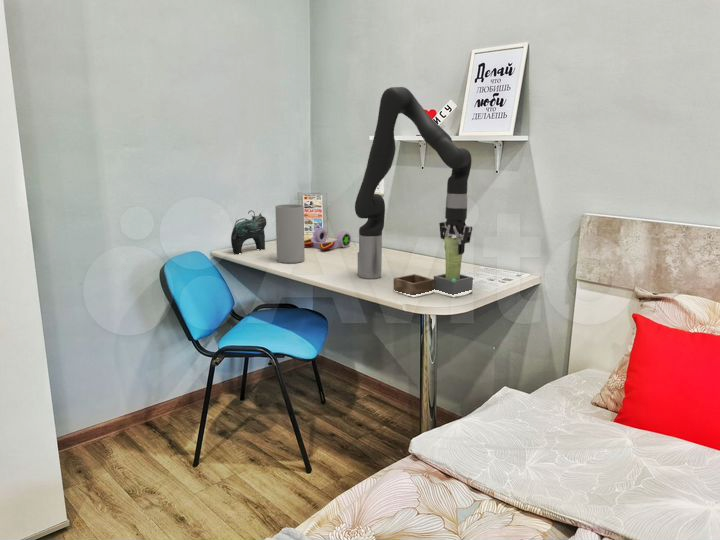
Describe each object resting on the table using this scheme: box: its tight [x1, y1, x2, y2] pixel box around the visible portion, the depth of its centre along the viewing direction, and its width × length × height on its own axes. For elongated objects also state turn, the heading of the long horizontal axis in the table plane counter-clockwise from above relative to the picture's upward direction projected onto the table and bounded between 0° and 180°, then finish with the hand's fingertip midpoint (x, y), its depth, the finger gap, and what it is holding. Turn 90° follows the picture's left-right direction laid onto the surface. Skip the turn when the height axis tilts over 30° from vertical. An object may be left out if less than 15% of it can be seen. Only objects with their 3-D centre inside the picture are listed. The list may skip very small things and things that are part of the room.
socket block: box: [433, 273, 474, 295], centre depth 205 cm, size 10×10×7 cm
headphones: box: [304, 227, 352, 251], centre depth 287 cm, size 20×10×20 cm
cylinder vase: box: [275, 203, 306, 264], centre depth 253 cm, size 12×12×25 cm
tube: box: [444, 237, 463, 280], centre depth 204 cm, size 6×5×20 cm
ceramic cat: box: [230, 210, 267, 255], centre depth 274 cm, size 20×6×20 cm, turn 139°
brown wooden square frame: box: [393, 273, 435, 295], centre depth 206 cm, size 10×10×5 cm
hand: (454, 252), depth 203 cm, fingers open, 5 cm apart
